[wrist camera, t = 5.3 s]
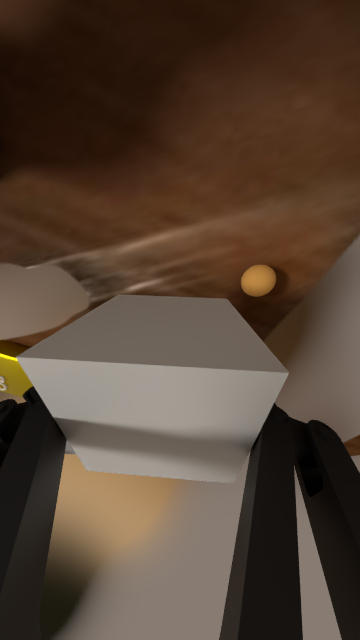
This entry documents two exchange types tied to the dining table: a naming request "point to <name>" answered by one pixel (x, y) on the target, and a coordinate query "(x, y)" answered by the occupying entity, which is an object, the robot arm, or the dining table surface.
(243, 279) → the ball
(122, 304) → the white cube
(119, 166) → the dining table surface
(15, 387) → the element tile
